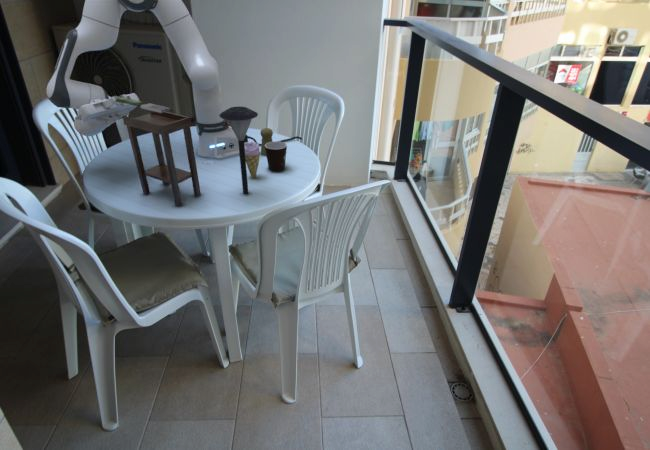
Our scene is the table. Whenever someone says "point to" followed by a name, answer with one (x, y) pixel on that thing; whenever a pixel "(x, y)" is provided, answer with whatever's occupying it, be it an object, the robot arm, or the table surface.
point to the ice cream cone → (252, 157)
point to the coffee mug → (276, 155)
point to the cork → (265, 139)
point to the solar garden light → (240, 133)
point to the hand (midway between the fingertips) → (119, 98)
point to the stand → (163, 172)
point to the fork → (143, 105)
